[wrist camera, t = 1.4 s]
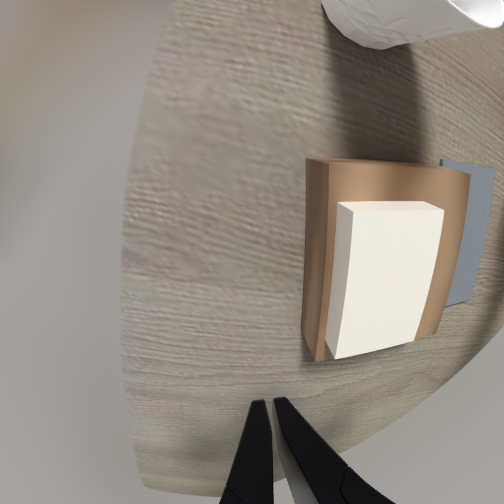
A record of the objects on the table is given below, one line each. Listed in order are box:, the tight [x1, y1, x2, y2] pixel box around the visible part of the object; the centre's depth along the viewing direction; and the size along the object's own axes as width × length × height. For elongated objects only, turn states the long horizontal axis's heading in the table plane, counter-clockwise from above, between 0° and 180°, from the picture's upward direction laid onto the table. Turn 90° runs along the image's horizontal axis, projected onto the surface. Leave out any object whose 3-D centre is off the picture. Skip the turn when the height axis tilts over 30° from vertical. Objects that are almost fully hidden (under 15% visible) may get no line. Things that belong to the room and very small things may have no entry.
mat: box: [440, 159, 495, 306], centre depth 21 cm, size 8×14×1 cm, turn 2°
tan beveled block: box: [301, 158, 471, 362], centre depth 18 cm, size 11×13×4 cm
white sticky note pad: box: [325, 201, 444, 359], centre depth 16 cm, size 6×9×2 cm, turn 3°
